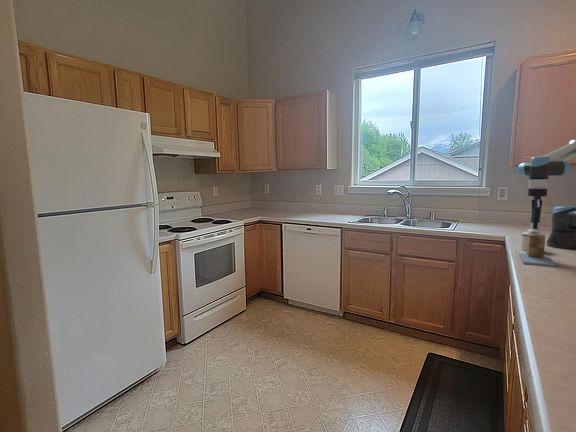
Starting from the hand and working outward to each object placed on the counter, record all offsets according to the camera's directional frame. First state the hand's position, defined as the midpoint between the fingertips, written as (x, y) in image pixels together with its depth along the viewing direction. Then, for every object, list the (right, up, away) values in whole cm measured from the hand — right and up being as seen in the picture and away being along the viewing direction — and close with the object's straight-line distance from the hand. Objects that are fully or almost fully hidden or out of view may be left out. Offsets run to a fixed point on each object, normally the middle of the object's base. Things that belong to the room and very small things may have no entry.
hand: (534, 235), depth 161 cm
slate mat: (-4, -12, -7) cm, 14 cm away
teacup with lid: (+10, -9, +16) cm, 21 cm away
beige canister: (-1, -10, -2) cm, 10 cm away
